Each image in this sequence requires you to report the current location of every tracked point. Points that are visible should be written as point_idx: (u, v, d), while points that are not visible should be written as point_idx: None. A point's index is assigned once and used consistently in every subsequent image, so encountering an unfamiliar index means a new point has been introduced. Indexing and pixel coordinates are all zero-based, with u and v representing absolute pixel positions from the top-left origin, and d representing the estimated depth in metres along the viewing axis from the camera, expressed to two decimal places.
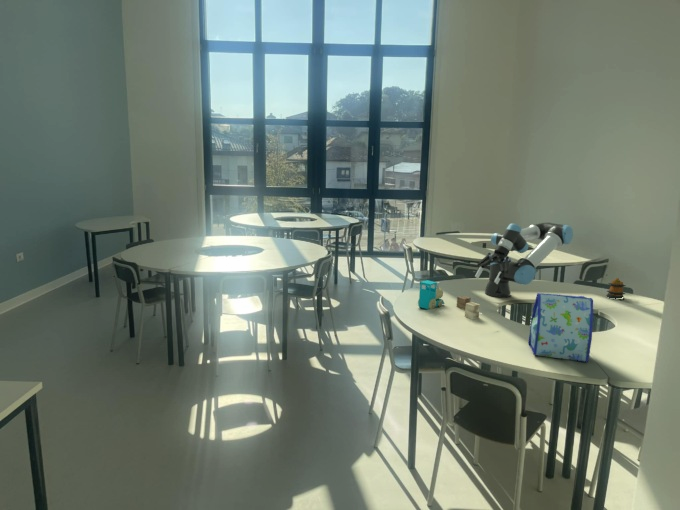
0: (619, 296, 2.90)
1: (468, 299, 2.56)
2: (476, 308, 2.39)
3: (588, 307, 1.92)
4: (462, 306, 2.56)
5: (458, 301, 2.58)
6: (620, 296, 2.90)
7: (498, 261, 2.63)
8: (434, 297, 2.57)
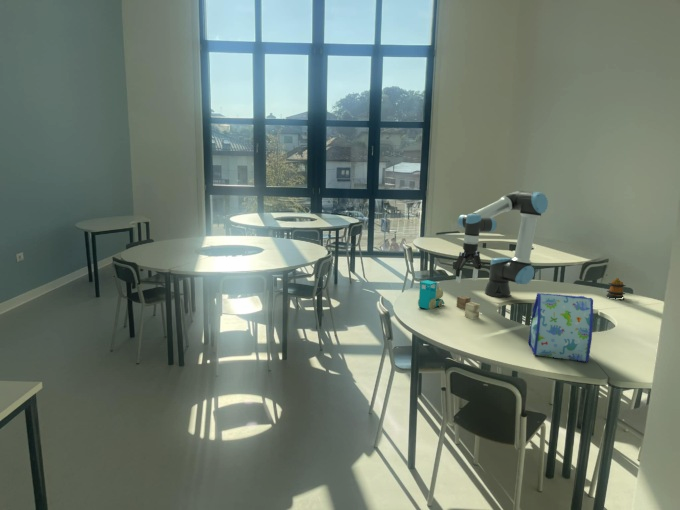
0: (619, 296, 2.90)
1: (468, 299, 2.56)
2: (476, 308, 2.39)
3: (588, 307, 1.92)
4: (462, 306, 2.56)
5: (458, 301, 2.58)
6: (620, 296, 2.90)
7: None
8: (434, 297, 2.57)
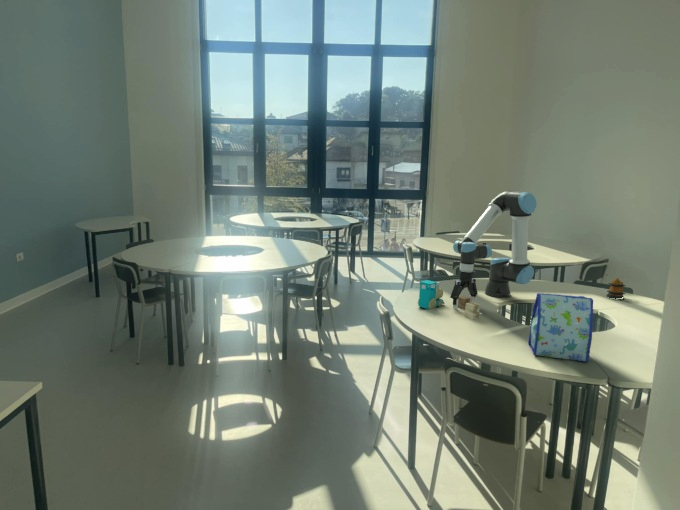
0: (619, 296, 2.90)
1: (468, 299, 2.56)
2: (476, 308, 2.39)
3: (588, 307, 1.92)
4: (462, 306, 2.56)
5: (458, 301, 2.58)
6: (620, 296, 2.90)
7: (461, 286, 2.56)
8: (434, 297, 2.57)
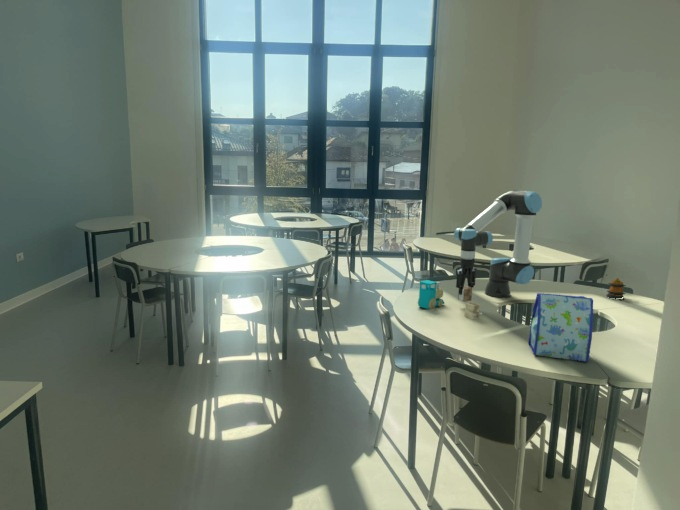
0: (619, 296, 2.90)
1: (470, 289, 2.55)
2: (476, 308, 2.39)
3: (588, 307, 1.92)
4: (464, 296, 2.55)
5: None
6: (620, 296, 2.90)
7: (462, 273, 2.55)
8: (434, 297, 2.57)
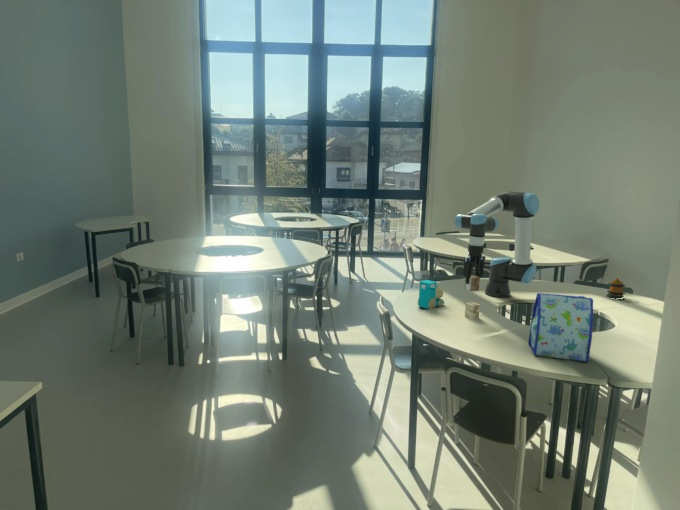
0: (619, 296, 2.90)
1: (477, 278, 2.39)
2: (476, 308, 2.39)
3: (588, 307, 1.92)
4: (471, 286, 2.39)
5: None
6: (620, 296, 2.90)
7: (470, 261, 2.39)
8: (434, 297, 2.57)
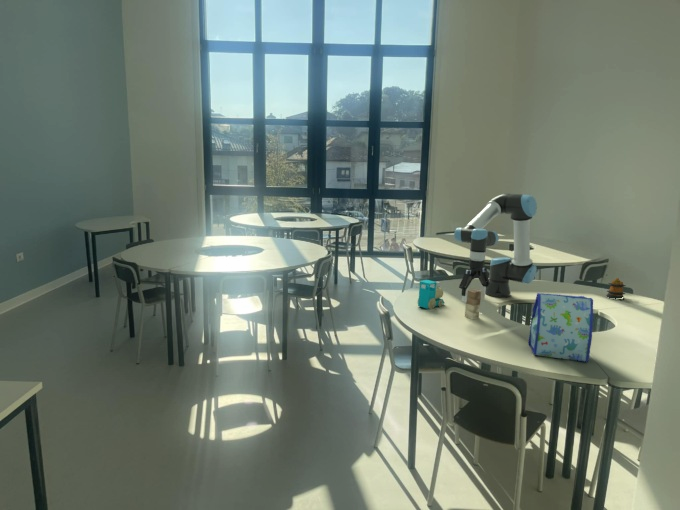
0: (619, 296, 2.90)
1: (478, 292, 2.38)
2: (476, 308, 2.39)
3: (588, 307, 1.92)
4: (472, 300, 2.38)
5: (468, 295, 2.40)
6: (620, 296, 2.90)
7: None
8: (434, 297, 2.57)
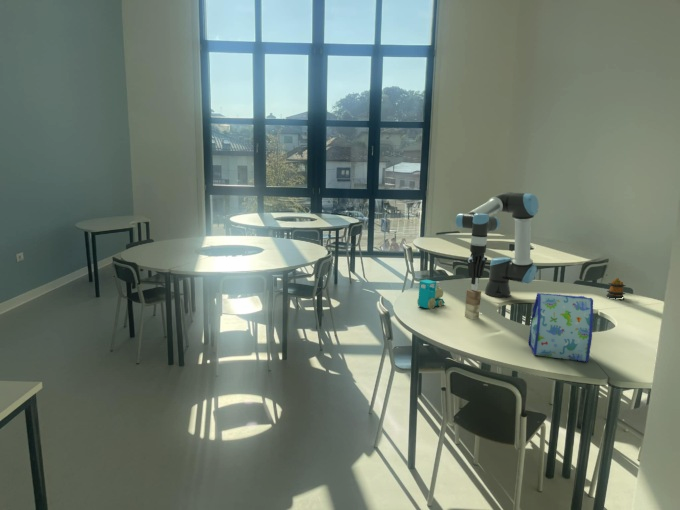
0: (619, 296, 2.90)
1: (478, 292, 2.38)
2: (476, 308, 2.39)
3: (588, 307, 1.92)
4: (472, 300, 2.38)
5: (468, 295, 2.40)
6: (620, 296, 2.90)
7: (472, 261, 2.36)
8: (433, 296, 2.58)
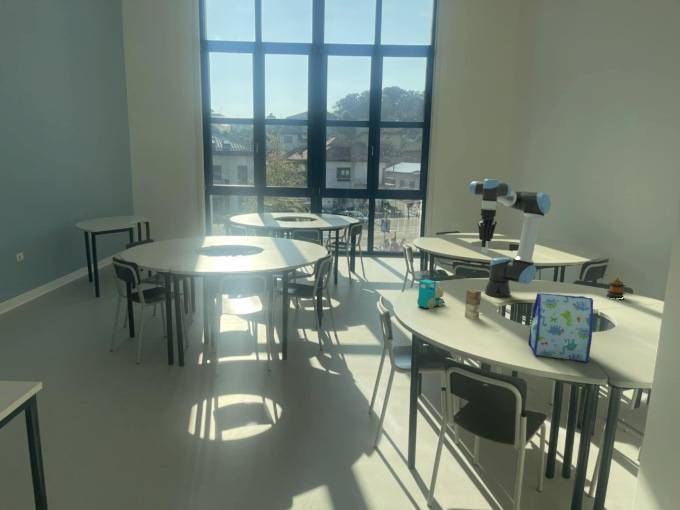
0: (619, 296, 2.90)
1: (478, 292, 2.38)
2: (476, 308, 2.39)
3: (588, 307, 1.92)
4: (472, 300, 2.38)
5: (468, 295, 2.40)
6: (620, 296, 2.90)
7: (483, 225, 2.48)
8: (433, 296, 2.58)
